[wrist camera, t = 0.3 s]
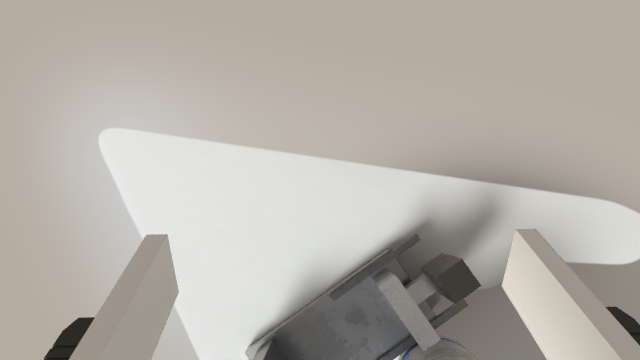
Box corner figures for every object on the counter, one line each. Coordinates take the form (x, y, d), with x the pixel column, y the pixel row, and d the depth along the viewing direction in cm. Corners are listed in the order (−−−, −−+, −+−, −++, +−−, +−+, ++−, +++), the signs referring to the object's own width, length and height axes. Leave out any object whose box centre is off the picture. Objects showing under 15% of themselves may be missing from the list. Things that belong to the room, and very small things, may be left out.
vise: (461, 302, 48) (491, 320, 39) (296, 421, 48) (289, 468, 39) (410, 231, 49) (429, 234, 40) (248, 347, 48) (230, 376, 39)
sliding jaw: (467, 289, 46) (494, 303, 39) (409, 331, 46) (425, 353, 38) (430, 238, 47) (449, 241, 39) (372, 278, 47) (381, 290, 39)
